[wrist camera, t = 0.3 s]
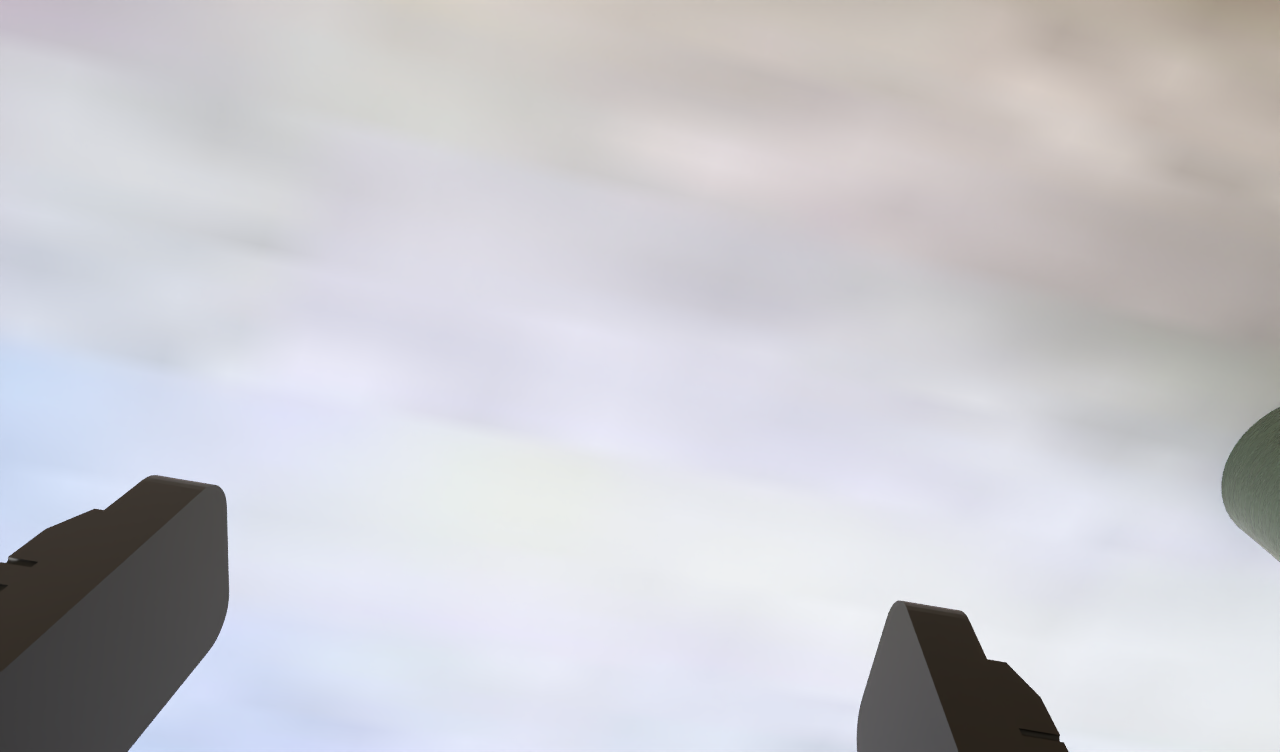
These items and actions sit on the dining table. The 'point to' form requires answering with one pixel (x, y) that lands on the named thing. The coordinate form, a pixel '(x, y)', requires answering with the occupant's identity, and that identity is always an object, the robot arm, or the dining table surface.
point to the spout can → (1256, 483)
